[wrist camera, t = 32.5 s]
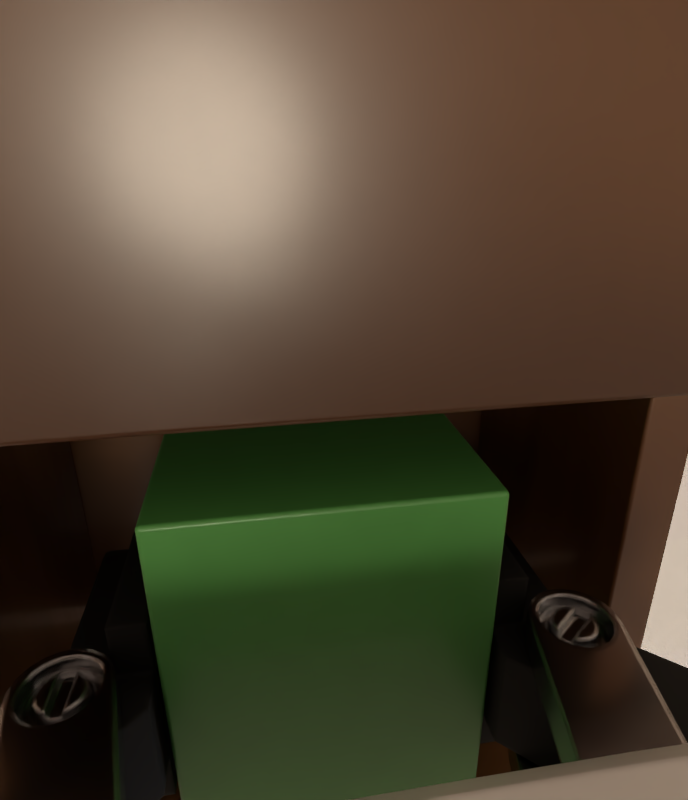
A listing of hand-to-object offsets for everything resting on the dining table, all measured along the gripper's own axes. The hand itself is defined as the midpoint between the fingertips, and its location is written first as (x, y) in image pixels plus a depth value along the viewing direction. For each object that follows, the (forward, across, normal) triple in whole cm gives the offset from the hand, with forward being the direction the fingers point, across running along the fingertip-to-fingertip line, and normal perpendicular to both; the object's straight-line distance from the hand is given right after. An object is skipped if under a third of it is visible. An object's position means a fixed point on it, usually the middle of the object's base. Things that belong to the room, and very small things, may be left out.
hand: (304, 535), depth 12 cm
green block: (0, 0, 0) cm, 0 cm away
